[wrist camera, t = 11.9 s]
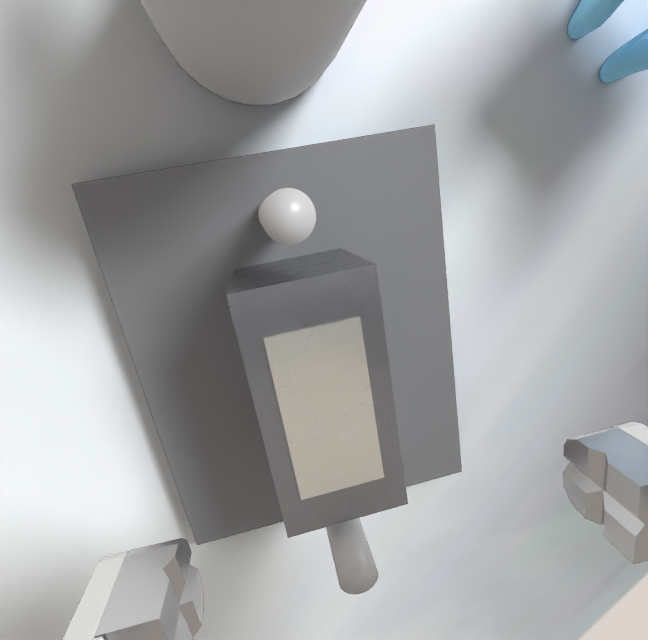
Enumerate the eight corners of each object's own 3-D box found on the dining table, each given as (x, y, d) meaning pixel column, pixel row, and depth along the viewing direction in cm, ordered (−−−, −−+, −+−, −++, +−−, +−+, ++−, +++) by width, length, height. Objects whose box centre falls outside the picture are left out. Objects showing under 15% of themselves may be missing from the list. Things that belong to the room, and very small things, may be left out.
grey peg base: (422, 130, 17) (537, 76, 10) (450, 457, 22) (540, 569, 15) (84, 185, 15) (-51, 166, 8) (200, 526, 20) (174, 687, 13)
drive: (340, 248, 16) (377, 264, 12) (369, 430, 19) (408, 505, 14) (233, 269, 16) (225, 295, 11) (278, 454, 19) (288, 540, 14)
